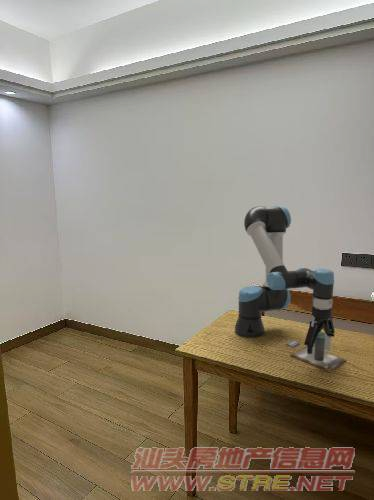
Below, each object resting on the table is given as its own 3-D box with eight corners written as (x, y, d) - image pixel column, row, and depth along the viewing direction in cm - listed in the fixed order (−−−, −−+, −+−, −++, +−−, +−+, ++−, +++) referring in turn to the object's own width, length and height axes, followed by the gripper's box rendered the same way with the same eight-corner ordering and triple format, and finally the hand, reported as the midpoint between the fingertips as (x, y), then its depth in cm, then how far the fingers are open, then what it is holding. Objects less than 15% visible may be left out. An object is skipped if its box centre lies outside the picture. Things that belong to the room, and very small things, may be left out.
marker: (311, 360, 141) (313, 333, 139) (316, 357, 144) (318, 330, 142) (320, 364, 138) (322, 336, 136) (325, 361, 141) (327, 333, 139)
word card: (285, 344, 158) (285, 343, 158) (292, 340, 162) (292, 339, 162) (292, 347, 155) (292, 346, 155) (299, 343, 159) (300, 342, 159)
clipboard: (290, 356, 147) (290, 352, 147) (307, 346, 156) (307, 343, 155) (329, 372, 133) (330, 368, 133) (346, 361, 142) (346, 357, 142)
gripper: (314, 316, 126) (311, 368, 130) (345, 302, 142) (341, 349, 146) (296, 311, 132) (294, 361, 136) (328, 298, 148) (325, 343, 151)
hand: (318, 355), depth 141 cm, fingers open, 13 cm apart
